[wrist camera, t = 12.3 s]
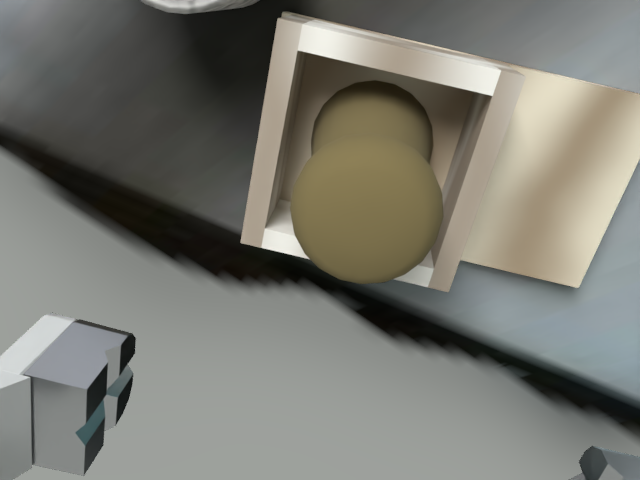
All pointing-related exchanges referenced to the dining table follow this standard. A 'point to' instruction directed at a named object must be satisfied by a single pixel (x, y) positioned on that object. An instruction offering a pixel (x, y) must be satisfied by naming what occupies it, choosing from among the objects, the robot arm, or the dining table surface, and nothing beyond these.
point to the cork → (368, 185)
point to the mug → (197, 5)
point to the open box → (458, 149)
